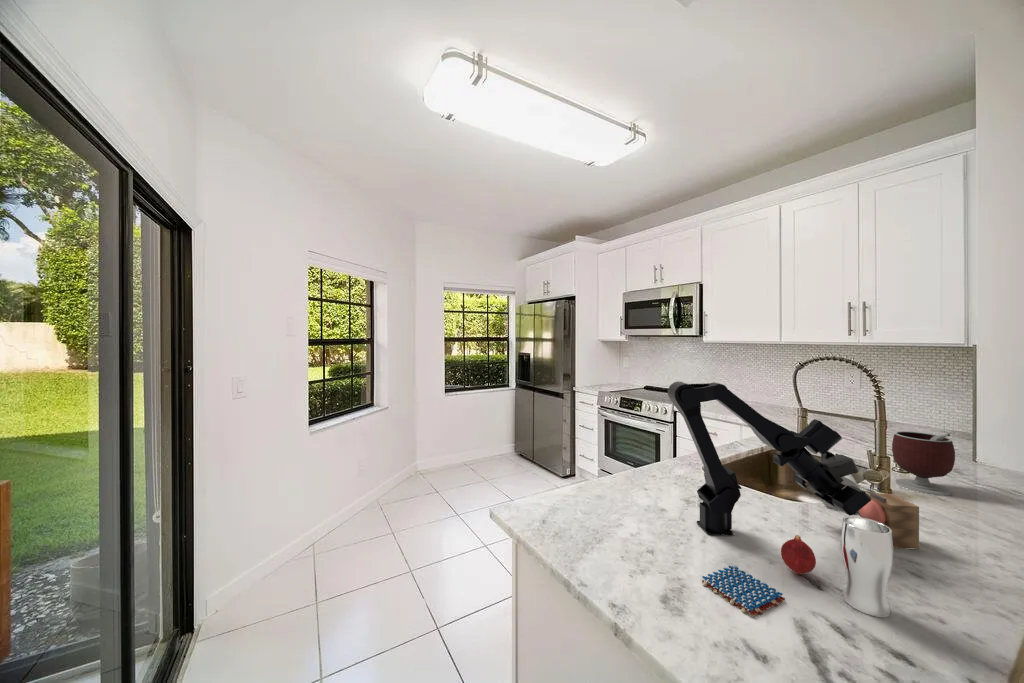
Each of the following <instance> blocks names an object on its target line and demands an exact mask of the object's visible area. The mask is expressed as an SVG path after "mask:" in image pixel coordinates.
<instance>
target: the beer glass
mask: <svg viewBox="0 0 1024 683" xmlns="http://www.w3.org/2000/svg"><path fill="white" fill-rule="evenodd" d="M840 542H841V543H840V546H841V553H842V558H843V563H844V564H843V565H844V567H845V573H846V585H845V586H846V587H845V590H844V594H843V597H844V601H845V602H846V603H847V604H849V606H851V607H852V608H853V609H855V610H857V611H859V612H861V613H863V614H866V615H868V616H872V617H876V618H887V617H889V616H890V614H891V611H890V610H891V609H890V606H889V600H888V596H887V595H888V594H887V593H888V587H889V586H888V585H889V581H890V578H891V574H892V570H893V565H894V554H895V553H894V548H893V540H892V530H891V529H890V528H889V527H888V526H886V525H884V524H882V523H880V522H877V521H874V520H871V519H867V518H863V517H861V516H855V515H850V516H849V515H847V516H844V517H842V526H841V538H840Z"/></svg>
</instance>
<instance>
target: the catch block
mask: <svg viewBox="0 0 1024 683" xmlns="http://www.w3.org/2000/svg"><path fill="white" fill-rule="evenodd" d="M866 493H867V494H868V495H869V496H870V497H871V500H874V501H876V502H878V503H879V504H880V505H881V507H882V508H884V509H885V517H886V521H885V524H884V525H886V526H888V527H889V528H890V529H891V530H892V540H893V549H905V548H918V549H917V550H919V549H920V506H919V505H916V504H914V503H913V502H910V501H908V500H905V499H904V498H901V497H899V496H897V495H895V494H893V493H890V494H889V493H878V492H877V493H875V492H872V491H871V492H866Z"/></svg>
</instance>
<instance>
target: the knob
mask: <svg viewBox="0 0 1024 683" xmlns="http://www.w3.org/2000/svg"><path fill="white" fill-rule="evenodd" d="M858 513H859V515H860V516H859V517H863V518H867V519H871V520H874V521H877V522H880V523H882V524H885V521H886V517H885V509H884V508H882V507H881V505H880V504H879V503H878V502H876V501H874V500H871V501H870V502H869V503H867V504H866V505H865V506H864V507H863V508H861V509H860V510H859V511H858Z"/></svg>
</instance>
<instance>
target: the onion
mask: <svg viewBox="0 0 1024 683" xmlns="http://www.w3.org/2000/svg"><path fill="white" fill-rule="evenodd" d="M780 555H781V559H782V560H783V562H784V564H785V565H786V567H787V568H788V569H789V570H791V571H792V572H793V573H795V575H799V576H800V575H804V574H808V573H811V572H813V570H814V569H815V567H816V565H817V558H816V555H815V553H814V551H813V549H812V548H811V547H810V546H809V545H808V544H807V543H806V542H805V541H803V539H802V538H801V536H800V535H798V534H796V535H794V537H793V538H792V539H789V540H787V541H785V542H784V543H783V544H782V545H781V547H780Z"/></svg>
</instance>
